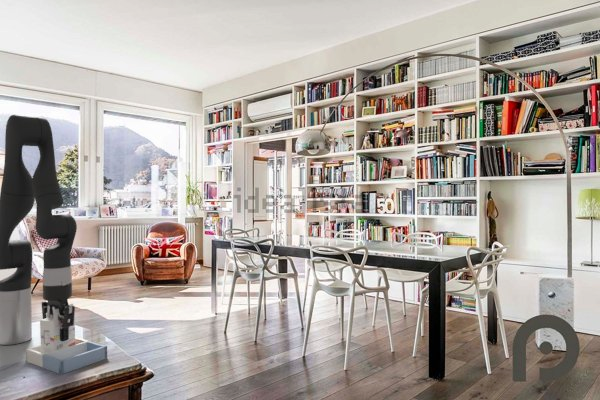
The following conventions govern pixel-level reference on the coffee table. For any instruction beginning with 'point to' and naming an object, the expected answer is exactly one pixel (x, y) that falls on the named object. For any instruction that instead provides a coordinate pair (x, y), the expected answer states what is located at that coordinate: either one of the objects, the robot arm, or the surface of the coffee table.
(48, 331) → the ink cartridge box
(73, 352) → the organizer tray
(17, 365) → the coffee table surface
